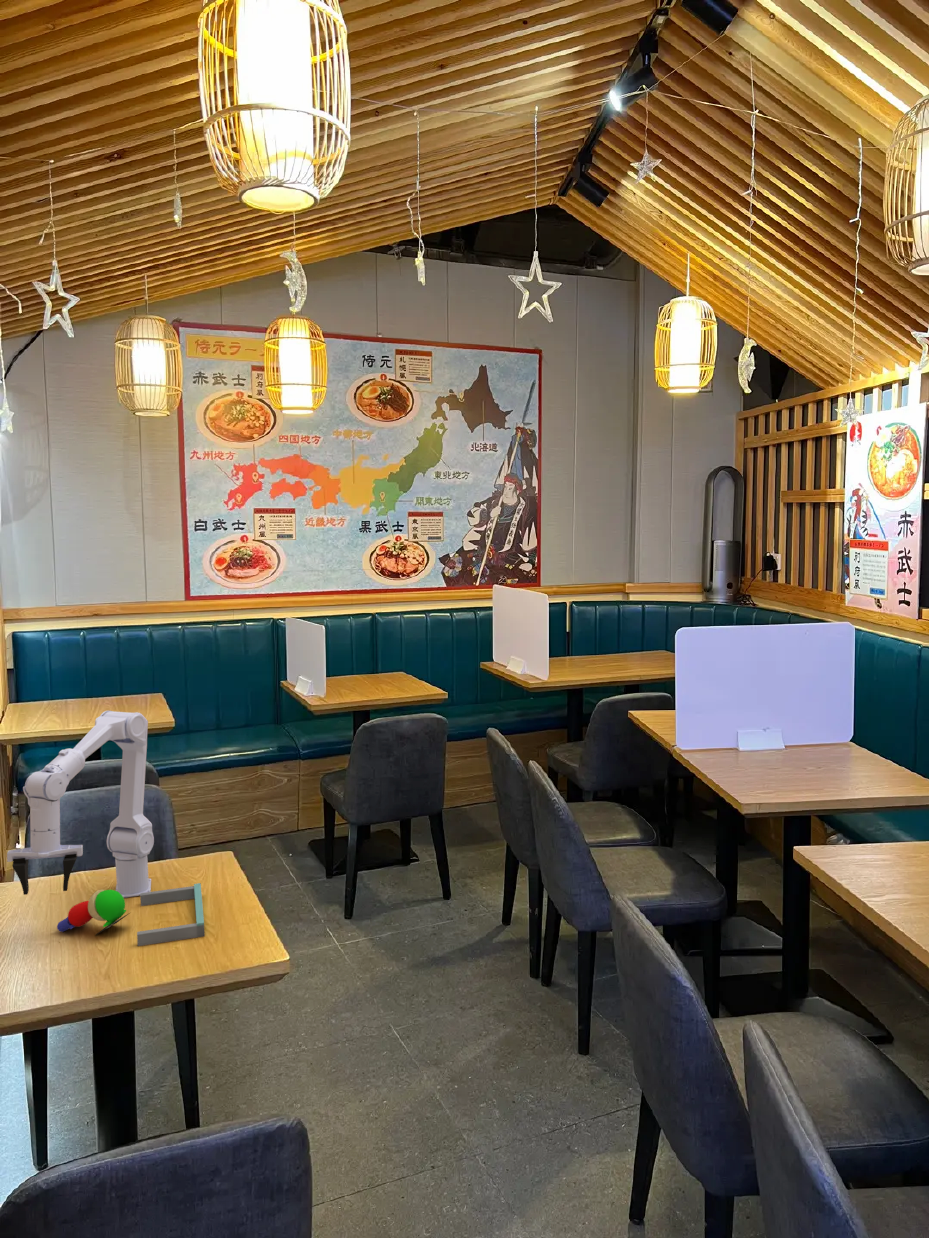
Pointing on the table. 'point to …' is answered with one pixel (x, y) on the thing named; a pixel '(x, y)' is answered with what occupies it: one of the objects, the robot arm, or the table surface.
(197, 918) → the bay
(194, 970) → the table surface
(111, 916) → the toy
